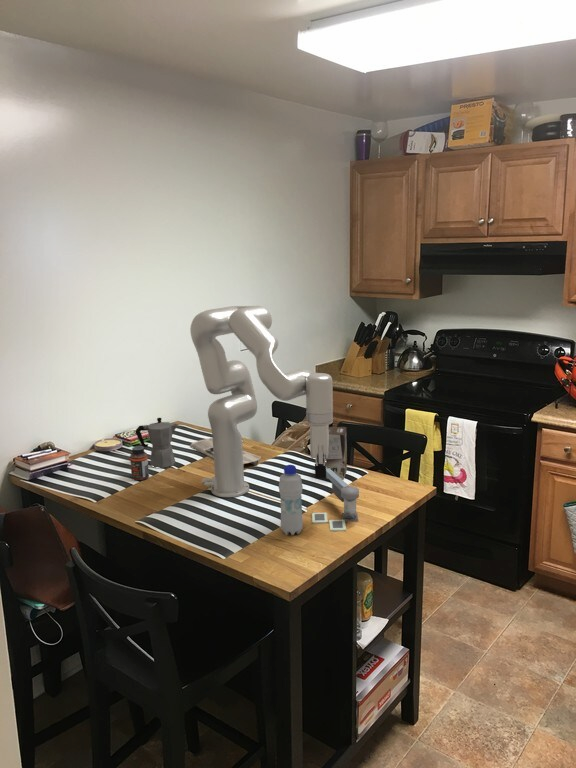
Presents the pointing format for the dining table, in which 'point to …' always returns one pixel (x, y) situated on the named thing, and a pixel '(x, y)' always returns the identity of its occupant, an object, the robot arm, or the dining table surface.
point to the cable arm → (341, 487)
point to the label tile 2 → (337, 525)
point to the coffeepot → (159, 442)
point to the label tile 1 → (319, 518)
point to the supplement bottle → (139, 463)
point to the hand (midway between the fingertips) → (320, 477)
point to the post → (350, 510)
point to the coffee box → (337, 451)
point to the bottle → (291, 500)
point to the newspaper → (207, 449)
